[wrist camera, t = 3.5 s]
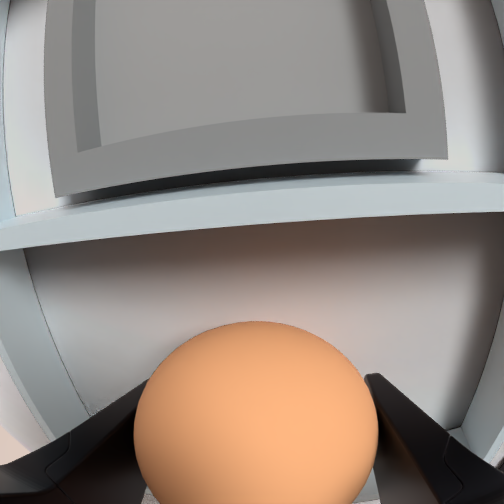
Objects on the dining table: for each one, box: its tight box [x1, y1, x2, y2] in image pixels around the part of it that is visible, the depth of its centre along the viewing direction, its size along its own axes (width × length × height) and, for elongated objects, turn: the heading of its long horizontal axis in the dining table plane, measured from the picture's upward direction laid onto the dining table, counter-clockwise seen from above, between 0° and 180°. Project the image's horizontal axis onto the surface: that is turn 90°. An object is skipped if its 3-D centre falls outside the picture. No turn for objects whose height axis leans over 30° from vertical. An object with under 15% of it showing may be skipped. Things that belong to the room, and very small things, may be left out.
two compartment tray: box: [0, 0, 504, 503], centre depth 7 cm, size 22×18×2 cm
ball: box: [134, 321, 378, 504], centre depth 7 cm, size 6×6×6 cm
